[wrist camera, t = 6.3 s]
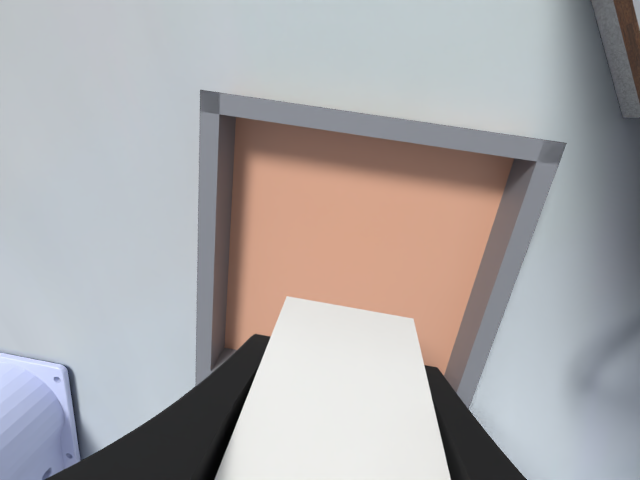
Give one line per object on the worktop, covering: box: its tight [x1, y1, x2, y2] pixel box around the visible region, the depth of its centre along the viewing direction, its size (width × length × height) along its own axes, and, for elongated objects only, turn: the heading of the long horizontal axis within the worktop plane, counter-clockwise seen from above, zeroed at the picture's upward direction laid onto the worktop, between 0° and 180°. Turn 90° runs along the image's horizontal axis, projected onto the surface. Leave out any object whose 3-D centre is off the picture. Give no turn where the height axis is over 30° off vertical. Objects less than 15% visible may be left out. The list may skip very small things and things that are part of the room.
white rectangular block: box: [215, 296, 451, 480], centre depth 9 cm, size 4×4×6 cm
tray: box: [196, 90, 566, 409], centre depth 20 cm, size 28×14×3 cm, turn 172°
